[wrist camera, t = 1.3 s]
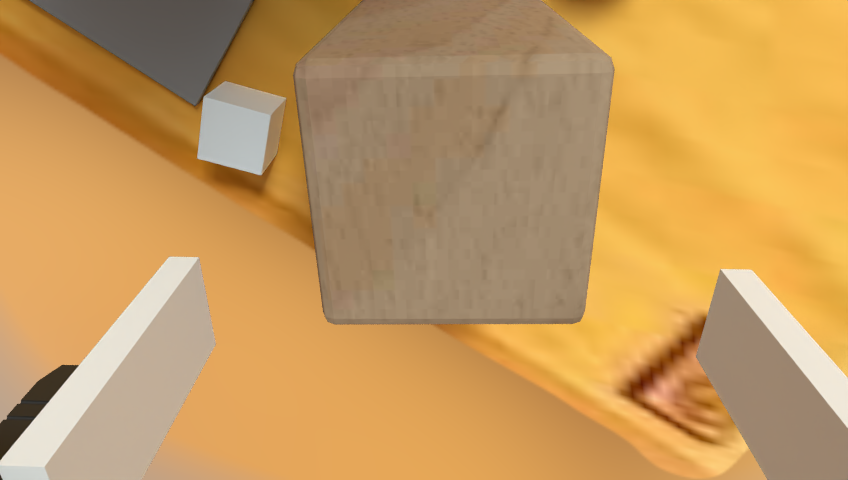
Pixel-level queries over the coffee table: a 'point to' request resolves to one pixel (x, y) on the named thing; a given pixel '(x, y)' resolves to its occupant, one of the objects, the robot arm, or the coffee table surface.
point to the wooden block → (453, 162)
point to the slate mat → (159, 35)
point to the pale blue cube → (240, 127)
